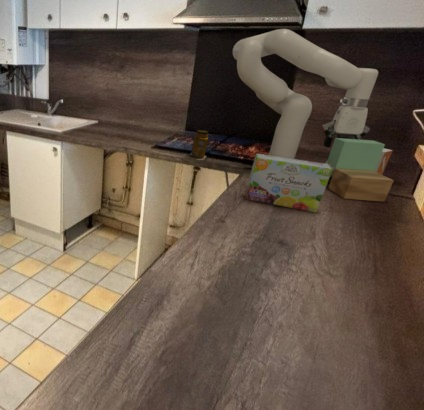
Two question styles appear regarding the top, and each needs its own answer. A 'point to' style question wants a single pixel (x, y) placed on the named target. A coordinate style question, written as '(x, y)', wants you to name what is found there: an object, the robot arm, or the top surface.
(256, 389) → the top surface
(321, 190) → the snack box
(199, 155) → the condiment
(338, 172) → the stand
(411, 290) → the top surface
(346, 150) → the block
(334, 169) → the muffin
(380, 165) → the small box
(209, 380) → the top surface
